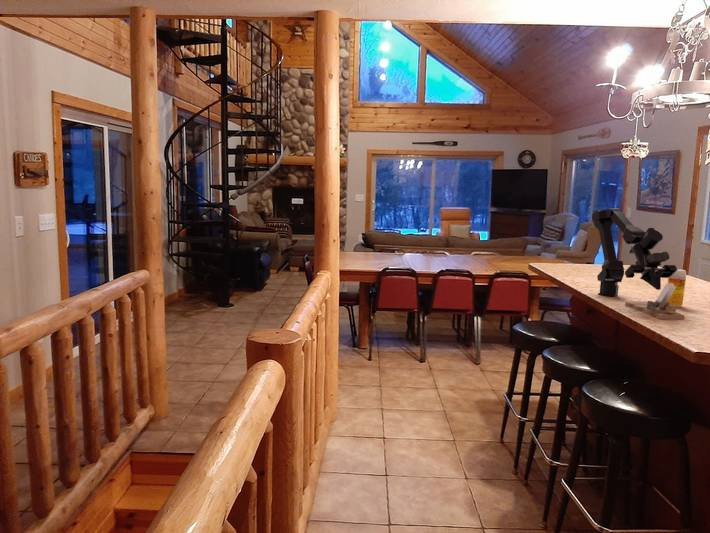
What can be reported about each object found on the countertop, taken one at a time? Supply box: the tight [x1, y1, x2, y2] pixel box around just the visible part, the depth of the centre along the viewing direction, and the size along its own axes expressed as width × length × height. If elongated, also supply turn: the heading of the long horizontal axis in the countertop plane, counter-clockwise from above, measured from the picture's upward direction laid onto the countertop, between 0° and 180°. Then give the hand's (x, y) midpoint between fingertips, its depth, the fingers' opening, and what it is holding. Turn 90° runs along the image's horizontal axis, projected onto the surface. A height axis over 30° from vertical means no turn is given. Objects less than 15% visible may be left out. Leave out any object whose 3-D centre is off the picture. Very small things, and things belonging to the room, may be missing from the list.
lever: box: [654, 282, 676, 308], centre depth 200 cm, size 2×3×12 cm
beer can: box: [667, 268, 687, 308], centre depth 216 cm, size 6×6×15 cm
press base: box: [624, 300, 685, 320], centre depth 205 cm, size 22×9×5 cm, turn 7°
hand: (659, 289), depth 202 cm, fingers closed
